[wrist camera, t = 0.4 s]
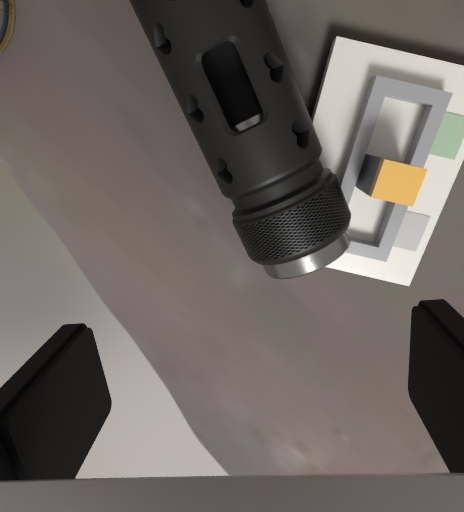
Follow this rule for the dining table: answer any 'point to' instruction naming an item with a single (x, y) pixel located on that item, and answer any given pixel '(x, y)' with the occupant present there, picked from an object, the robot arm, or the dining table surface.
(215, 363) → the dining table surface
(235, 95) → the muzzle brake
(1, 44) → the apothecary jar
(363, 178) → the breaker lever
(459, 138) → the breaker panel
